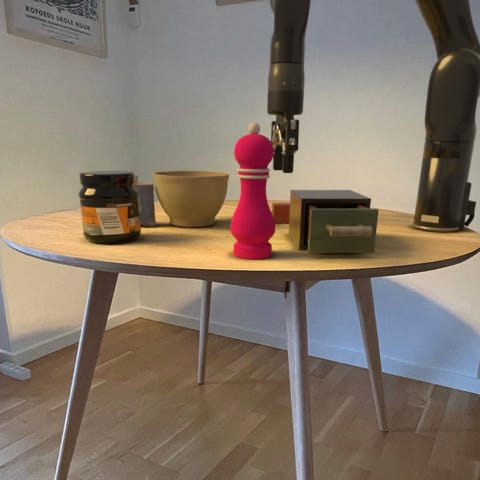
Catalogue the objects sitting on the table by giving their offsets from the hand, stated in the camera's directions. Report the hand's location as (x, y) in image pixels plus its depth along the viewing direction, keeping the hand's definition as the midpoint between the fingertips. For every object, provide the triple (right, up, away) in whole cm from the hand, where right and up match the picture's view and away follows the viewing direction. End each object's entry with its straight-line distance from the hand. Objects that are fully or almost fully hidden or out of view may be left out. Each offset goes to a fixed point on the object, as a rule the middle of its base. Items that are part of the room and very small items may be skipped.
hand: (282, 171), depth 103 cm
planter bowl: (-20, -12, +1) cm, 23 cm away
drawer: (+7, -21, -25) cm, 33 cm away
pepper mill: (-7, -22, -26) cm, 35 cm away
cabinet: (+6, -18, -16) cm, 25 cm away
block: (0, -10, +4) cm, 11 cm away
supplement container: (-33, -18, -15) cm, 40 cm away
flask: (-32, -12, -1) cm, 34 cm away
